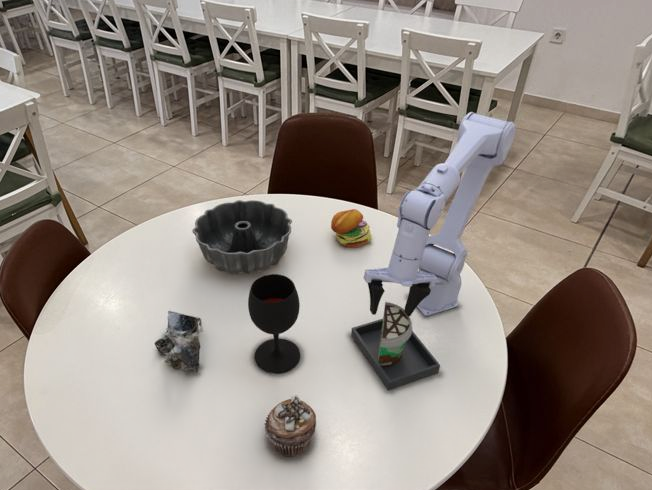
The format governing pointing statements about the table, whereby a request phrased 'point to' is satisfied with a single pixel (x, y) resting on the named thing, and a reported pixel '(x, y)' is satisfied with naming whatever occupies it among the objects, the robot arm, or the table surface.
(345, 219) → the cheeseburger
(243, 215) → the bundt pan
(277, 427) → the cupcake
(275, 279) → the wine glass
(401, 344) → the food container
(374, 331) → the dark gray tray
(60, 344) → the table surface
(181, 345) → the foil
